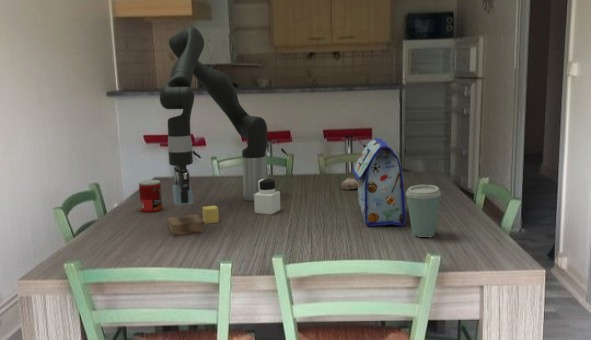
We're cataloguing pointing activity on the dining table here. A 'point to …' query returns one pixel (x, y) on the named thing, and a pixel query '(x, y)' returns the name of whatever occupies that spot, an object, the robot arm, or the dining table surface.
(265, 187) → the medicine bottle
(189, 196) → the slate cube
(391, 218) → the lunch bag
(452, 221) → the dining table surface
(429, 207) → the disposable coffee cup
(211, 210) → the ochre block
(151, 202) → the canned food
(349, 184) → the garlic bulb
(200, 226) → the walnut base
